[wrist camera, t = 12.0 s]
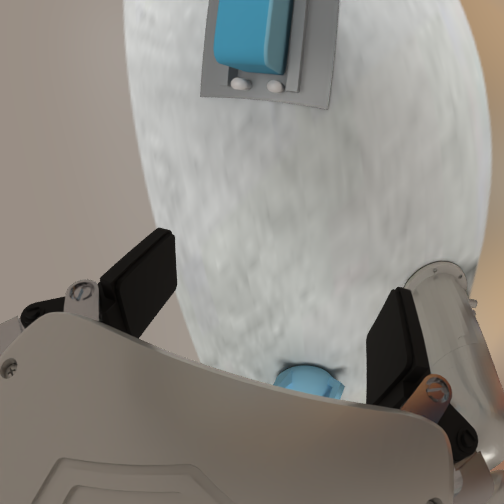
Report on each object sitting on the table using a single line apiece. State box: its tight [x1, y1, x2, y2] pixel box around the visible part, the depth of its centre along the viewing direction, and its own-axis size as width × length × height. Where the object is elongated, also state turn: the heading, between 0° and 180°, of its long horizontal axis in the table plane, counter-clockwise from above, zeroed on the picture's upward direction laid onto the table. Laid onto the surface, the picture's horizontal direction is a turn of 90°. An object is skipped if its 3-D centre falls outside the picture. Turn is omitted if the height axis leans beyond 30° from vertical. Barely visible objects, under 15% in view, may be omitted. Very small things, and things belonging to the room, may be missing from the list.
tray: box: [200, 0, 339, 110], centre depth 23 cm, size 16×19×5 cm
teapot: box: [273, 365, 345, 400], centre depth 53 cm, size 15×15×11 cm
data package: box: [213, 0, 294, 75], centre depth 19 cm, size 12×4×12 cm, turn 174°
